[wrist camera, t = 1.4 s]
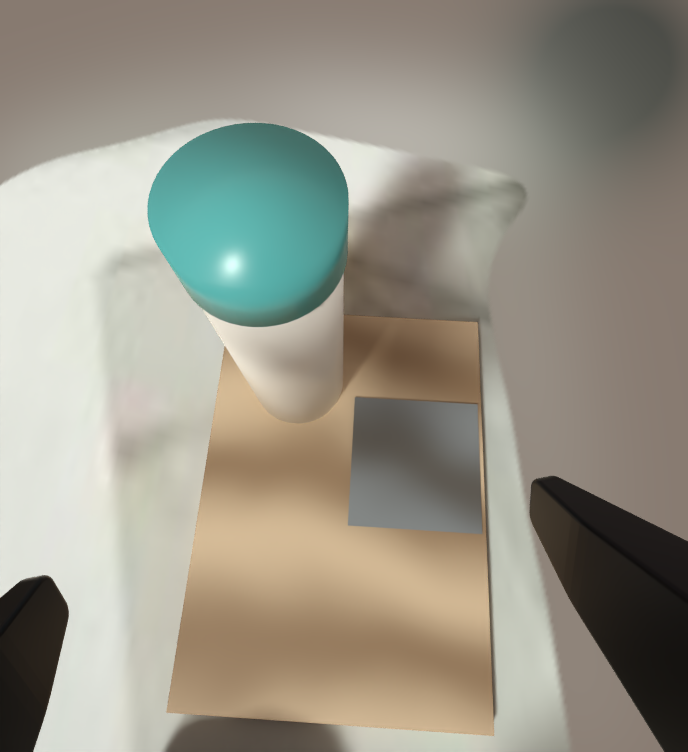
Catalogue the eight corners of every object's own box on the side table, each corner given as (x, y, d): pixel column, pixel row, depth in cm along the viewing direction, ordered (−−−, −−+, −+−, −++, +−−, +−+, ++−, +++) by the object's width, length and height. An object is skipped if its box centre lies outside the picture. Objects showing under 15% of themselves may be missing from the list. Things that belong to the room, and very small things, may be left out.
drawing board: (489, 729, 18) (495, 736, 18) (171, 707, 19) (165, 713, 18) (474, 327, 24) (478, 321, 24) (233, 313, 25) (230, 307, 24)
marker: (319, 441, 22) (291, 319, 9) (236, 401, 22) (106, 238, 10) (360, 360, 23) (380, 162, 11) (280, 324, 24) (213, 99, 11)
